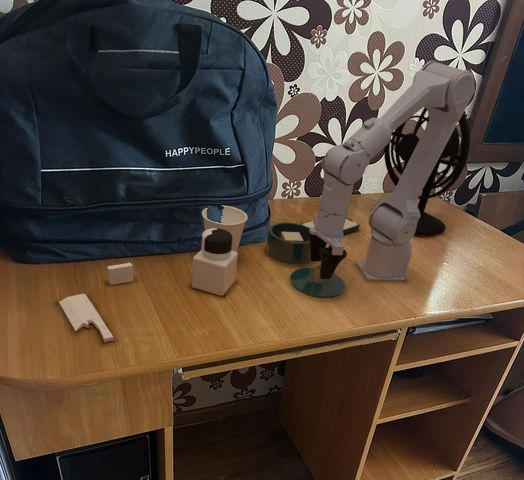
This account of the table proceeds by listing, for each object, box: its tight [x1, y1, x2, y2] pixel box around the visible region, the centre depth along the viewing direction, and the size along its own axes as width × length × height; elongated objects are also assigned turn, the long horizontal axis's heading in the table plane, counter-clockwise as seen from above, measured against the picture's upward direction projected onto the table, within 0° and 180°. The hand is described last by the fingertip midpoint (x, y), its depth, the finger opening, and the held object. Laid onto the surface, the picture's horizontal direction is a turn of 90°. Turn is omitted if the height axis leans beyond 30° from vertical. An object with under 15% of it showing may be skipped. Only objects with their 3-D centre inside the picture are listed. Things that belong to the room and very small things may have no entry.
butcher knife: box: [58, 293, 114, 343], centre depth 91 cm, size 5×15×1 cm, turn 33°
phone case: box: [300, 216, 360, 235], centre depth 136 cm, size 9×2×16 cm
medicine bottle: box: [191, 228, 239, 297], centre depth 103 cm, size 7×7×12 cm
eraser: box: [106, 262, 134, 286], centre depth 102 cm, size 1×5×4 cm, turn 121°
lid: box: [289, 265, 346, 299], centre depth 111 cm, size 12×12×4 cm
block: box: [280, 232, 304, 243], centre depth 120 cm, size 4×4×5 cm
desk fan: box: [383, 107, 471, 237], centre depth 137 cm, size 27×18×35 cm, turn 34°
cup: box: [201, 205, 248, 253], centre depth 112 cm, size 10×10×11 cm
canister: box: [265, 221, 312, 265], centre depth 120 cm, size 11×11×6 cm
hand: (320, 269), depth 109 cm, fingers open, 7 cm apart
